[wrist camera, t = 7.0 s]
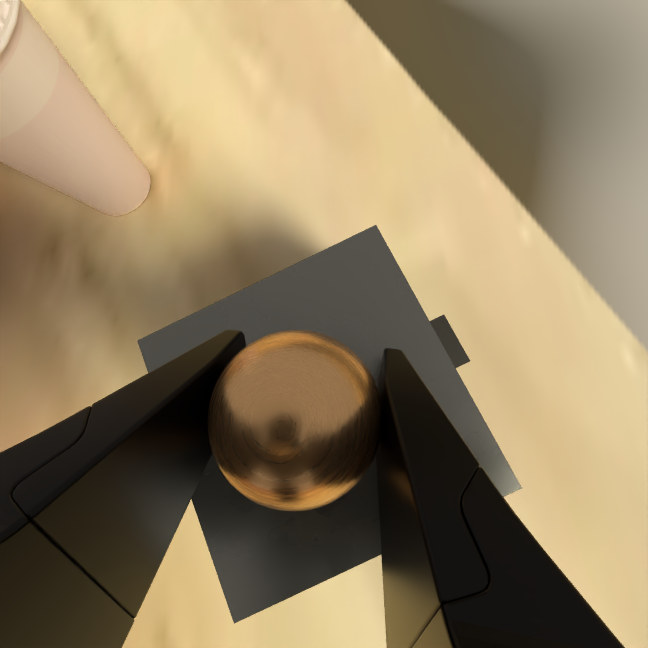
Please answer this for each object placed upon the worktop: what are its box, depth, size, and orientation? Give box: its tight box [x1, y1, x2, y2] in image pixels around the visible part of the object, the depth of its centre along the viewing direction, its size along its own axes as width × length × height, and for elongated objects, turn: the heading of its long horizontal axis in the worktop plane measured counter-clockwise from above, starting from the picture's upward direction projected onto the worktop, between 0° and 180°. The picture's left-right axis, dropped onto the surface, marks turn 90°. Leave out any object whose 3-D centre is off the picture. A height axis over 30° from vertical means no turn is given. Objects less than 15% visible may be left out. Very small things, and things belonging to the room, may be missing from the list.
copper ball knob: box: [207, 330, 382, 511], centre depth 10 cm, size 6×6×9 cm
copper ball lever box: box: [138, 225, 522, 623], centre depth 12 cm, size 9×9×7 cm
